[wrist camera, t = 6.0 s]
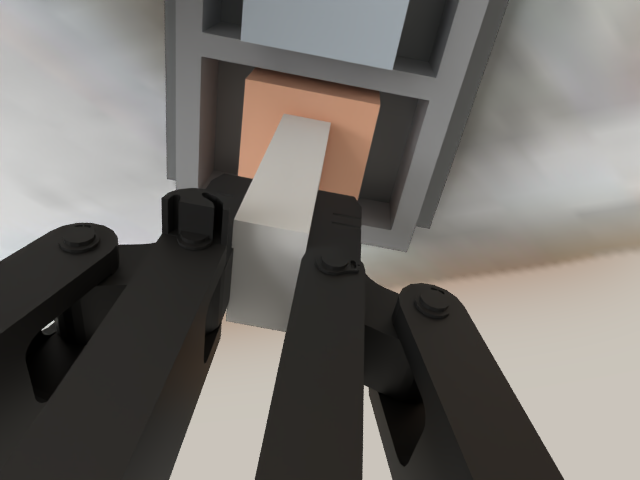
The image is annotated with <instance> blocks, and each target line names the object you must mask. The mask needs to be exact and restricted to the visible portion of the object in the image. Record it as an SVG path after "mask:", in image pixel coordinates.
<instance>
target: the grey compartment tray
mask: <svg viewBox="0 0 640 480" xmlns="http://www.w3.org/2000/svg"><path fill="white" fill-rule="evenodd" d="M508 1H509V0H409V4H408V8H407V12H406V16H405V20H404V24H403V29H402V33H401V37H400V41H399V45H398V49H397V53H396V57H395V61H394V66H393V70H388V69H382V68H377V67H372V66H367V65H362V64H357V63H352V62H347V61H341V60H336V59H331V58H326V57H321V56H316V55H311V54H305V53H300V52H295V51H290V50H285V49H280V48H275V47H270V46H264V45H259V44H254V43H249V42H244V41H241V27H242V13H243V0H165V68H166V143H167V179H170V180H175V181H176V190H178V189H186V188H199V189H206V188H207V186H208V185H209V183H210V181H211V180H213V179H215V178H217V177H219V176H220V175H222V174H224V173H225V174H230V175H235V176H238V169H239V156H240V143H241V130H242V117H243V105H244V92H245V79H246V78H247V77H248V75H249V74H250V73H251V72H252V71H253V70H254V68H255V67H258V68H263V69H269V70H274V71H279V72H284V73H289V74H294V75H299V76H305V77H310V78H315V79H320V80H325V81H330V82H336V83H341V84H346V85H351V86H356V87H361V88H366V89H372V90H377V91H380V109H379V113H378V117H377V121H376V126H375V130H374V134H373V138H372V142H371V147H370V151H369V155H368V159H367V163H366V167H365V172H364V176H363V180H362V184H361V188H360V193H359V197H358V203H359V204H360V206H361V207H362V219H361V220H362V221H361V244H366V245H372V246H377V247H382V248H387V249H393V250H398V251H403V252H407V250H408V247H409V244H410V241H411V238H412V235H413V232H414V229H415V226H418V227H424V228H429V229H430V226H431V223H432V220H433V217H434V214H435V211H436V209H437V206H438V203H439V200H440V197H441V194H442V191H443V188H444V186H445V183H446V180H447V177H448V174H449V171H450V168H451V165H452V163H453V160H454V157H455V154H456V151H457V148H458V145H459V142H460V140H461V137H462V134H463V131H464V128H465V125H466V122H467V119H468V116H469V114H470V111H471V108H472V105H473V102H474V99H475V96H476V93H477V91H478V88H479V85H480V82H481V79H482V76H483V73H484V70H485V68H486V65H487V62H488V59H489V56H490V53H491V50H492V47H493V45H494V42H495V39H496V36H497V33H498V30H499V27H500V24H501V22H502V19H503V16H504V13H505V10H506V7H507V4H508Z"/></svg>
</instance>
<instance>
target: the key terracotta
mask: <svg viewBox="0 0 640 480" xmlns="http://www.w3.org/2000/svg"><path fill="white" fill-rule="evenodd" d="M379 109H380V91H377V90H372V89H366V88H361V87H356V86H351V85H346V84H341V83H336V82H330V81H325V80H320V79H315V78H310V77H305V76H299V75H294V74H289V73H284V72H279V71H274V70H269V69H263V68H258V67H255V68H254V70H253V71H252V72H251V73H250V74H249V75H248V77H247V78H246V79H245V92H244V105H243V117H242V130H241V143H240V156H239V169H238V176H241V177H246V178H251V179H253V178H254V176H255V174H256V172H257V169H258V167H259V165H260V163H261V161H262V159H263V157H264V155H265V152H266V150H267V148H268V146H269V144H270V142H271V140H272V138H273V136H274V133H275V131H276V129H277V127H278V125H279V123H280V121H281V119H282V116H283V114H289V115H294V116H299V117H304V118H310V119H315V120H320V121H325V122H330V123H331V125H330V131H329V136H328V141H327V147H326V152H325V158H324V163H323V168H322V174H321V179H320V185H319V190H322V191H327V192H333V193H338V194H343V195H348V196H354V197H355V198H356V200H357V201H358V197H359V193H360V188H361V184H362V180H363V176H364V172H365V167H366V163H367V159H368V155H369V151H370V147H371V142H372V138H373V134H374V130H375V126H376V121H377V117H378V113H379Z"/></svg>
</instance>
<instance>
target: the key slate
mask: <svg viewBox="0 0 640 480" xmlns="http://www.w3.org/2000/svg"><path fill="white" fill-rule="evenodd" d="M408 4H409V0H243V13H242V27H241V41H244V42H249V43H254V44H259V45H264V46H270V47H275V48H280V49H285V50H290V51H295V52H300V53H305V54H311V55H316V56H321V57H326V58H331V59H336V60H341V61H347V62H352V63H357V64H362V65H367V66H372V67H377V68H382V69H388V70H393V66H394V61H395V57H396V53H397V49H398V45H399V41H400V37H401V33H402V29H403V24H404V20H405V16H406V12H407V8H408Z"/></svg>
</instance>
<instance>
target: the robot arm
mask: <svg viewBox="0 0 640 480" xmlns="http://www.w3.org/2000/svg"><path fill="white" fill-rule="evenodd" d="M330 125H331V123H330V122H325V121H320V120H315V119H310V118H304V117H299V116H294V115H289V114H283V116H282V119H281V121H280V123H279V125H278V127H277V129H276V131H275V133H274V136H273V138H272V140H271V142H270V144H269V146H268V148H267V150H266V152H265V155H264V157H263V159H262V161H261V163H260V165H259V167H258V169H257V172H256V174H255V176H254V178H253V179H251V178H246V177H241V176H235V175H230V174H225V173H224V174H222V175H220V176H219V177H217V178H215V179H213V180H211V181H210V183H209V185H208V186H207V188H206V189H199V188H186V189H178V190H175V191H172V192H169V193H168V194H166V195H165V196H164V197H162V235H161V236H160V238H159V239H158V241H157V242H156V243H151V244H138V245H118V237H117V236H116V234H115V233H114V231H113V230H111V229H109V228H107V227H105V226H103V225H98V224H94V223H75V224H70V225H65V226H61V227H59V228H57V229H54V230H52V231H50V232H48V233H47V234H45V235H43V236H42V237H40V238H38V239H37V240H35V241H33V242H32V243H30V244H28V245H27V246H25V247H23V248H22V249H20V250H18V251H17V252H15V253H13V254H12V255H10V256H8V257H7V258H5V259H3V260H2V261H0V480H169V478H170V475H171V473H172V470H173V467H174V464H175V461H176V459H177V456H178V453H179V451H180V448H181V445H182V442H183V440H184V437H185V434H186V431H187V429H188V426H189V423H190V420H191V418H192V415H193V412H194V409H195V407H196V404H197V401H198V398H199V395H200V393H201V390H202V387H203V385H204V382H205V379H206V376H207V374H208V371H209V368H210V365H211V363H212V360H213V357H214V354H215V351H216V349H217V346H218V343H219V340H220V336H221V324H222V319H223V316H224V314H225V311H226V308H227V314H226V321H229V322H234V323H240V324H245V325H251V326H257V327H261V328H267V329H272V330H278V331H283V332H286V334H285V339H284V344H283V349H282V353H281V358H280V363H279V367H278V372H277V377H276V382H275V387H274V391H273V396H272V401H271V405H270V410H269V415H268V419H267V424H266V429H265V434H264V439H263V443H262V448H261V453H260V457H259V462H258V467H257V471H256V476H255V480H362V462H363V459H362V458H363V457H362V456H363V393H364V391H363V389H364V385H365V386H368V387H369V396H370V400H371V404H372V407H373V411H374V414H375V418H376V421H377V425H378V429H379V432H380V436H381V440H382V443H383V447H384V450H385V454H386V457H387V461H388V465H389V468H390V472H391V475H392V479H393V480H564V478H563V477H562V475H561V473H560V472H559V470H558V468H557V466H556V465H555V463H554V461H553V459H552V458H551V456H550V454H549V453H548V451H547V449H546V447H545V446H544V444H543V442H542V441H541V439H540V437H539V435H538V433H537V432H536V430H535V428H534V426H533V425H532V423H531V421H530V420H529V418H528V416H527V414H526V413H525V411H524V409H523V407H522V406H521V404H520V402H519V401H518V399H517V397H516V395H515V394H514V392H513V390H512V388H511V387H510V385H509V383H508V381H507V380H506V378H505V376H504V375H503V373H502V371H501V370H500V368H499V366H498V364H497V362H496V361H495V359H494V357H493V355H492V354H491V352H490V350H489V349H488V347H487V345H486V343H485V342H484V340H483V338H482V337H481V335H480V333H479V332H478V330H477V328H476V326H475V324H474V323H473V321H472V319H471V318H470V316H469V314H468V312H467V310H466V309H465V307H464V306H463V305H462V303H461V302H460V301H459V300H458V298H457V297H455V296H454V295H453V294H451V293H450V292H448V291H447V290H445V289H442V288H440V287H437V286H435V285H430V284H424V283H418V284H410V285H408V286H406V287H405V288H403V289H402V291H401V292H400V294H398V293H396V292H393V291H391V290H389V289H386V288H384V287H382V286H380V285H378V284H377V283H375V282H374V281H373V280H371V279H370V278H369V277H368V276H367V275H366V274H365V269H364V265H363V263H362V262H361V221H362V220H361V219H362V207H361V206H360V204H359V203H358V201H357V200H356V198H355V197H354V196H348V195H343V194H338V193H333V192H327V191H322V190H319V185H320V179H321V174H322V168H323V163H324V158H325V152H326V147H327V141H328V136H329V131H330ZM53 320H54V321H55V322H54V323H53V324H52V325H51V326H49V327H48V328H46V329H44V330H43V331H41V330H42V329H43V328H44V327H45V326H47V325H48V324H49V323H50V322H52V321H53Z"/></svg>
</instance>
